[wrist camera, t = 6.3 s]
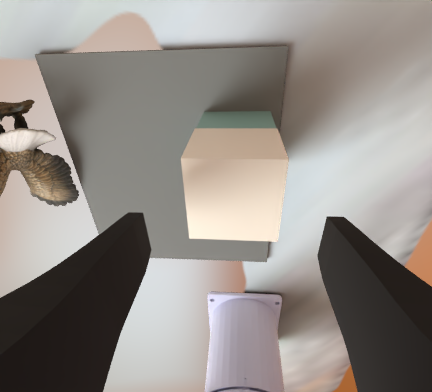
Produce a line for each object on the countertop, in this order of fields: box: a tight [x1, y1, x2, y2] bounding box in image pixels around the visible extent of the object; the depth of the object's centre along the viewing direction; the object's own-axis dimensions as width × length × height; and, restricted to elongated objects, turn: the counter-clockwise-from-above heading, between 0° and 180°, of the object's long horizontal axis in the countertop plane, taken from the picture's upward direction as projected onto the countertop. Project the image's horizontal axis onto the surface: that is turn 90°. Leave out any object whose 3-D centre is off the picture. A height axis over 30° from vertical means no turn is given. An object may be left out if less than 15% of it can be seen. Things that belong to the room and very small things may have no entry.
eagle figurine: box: [0, 100, 79, 206], centre depth 19 cm, size 8×8×10 cm
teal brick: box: [197, 111, 276, 128], centre depth 17 cm, size 4×4×4 cm
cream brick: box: [181, 128, 289, 242], centre depth 14 cm, size 4×4×4 cm
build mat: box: [35, 46, 288, 262], centre depth 21 cm, size 18×16×1 cm
